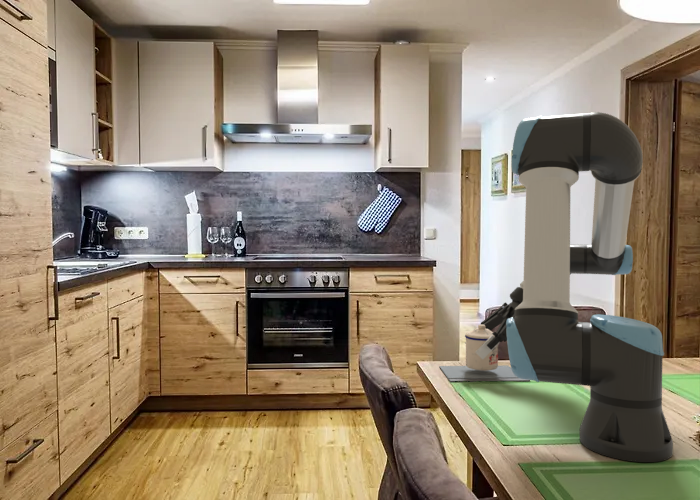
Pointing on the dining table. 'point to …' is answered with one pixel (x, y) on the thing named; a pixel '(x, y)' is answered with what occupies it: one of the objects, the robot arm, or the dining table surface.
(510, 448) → the dining table surface
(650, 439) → the robot arm
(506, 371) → the slate mat
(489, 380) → the black line strip
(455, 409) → the dining table surface
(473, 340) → the teacup with lid
